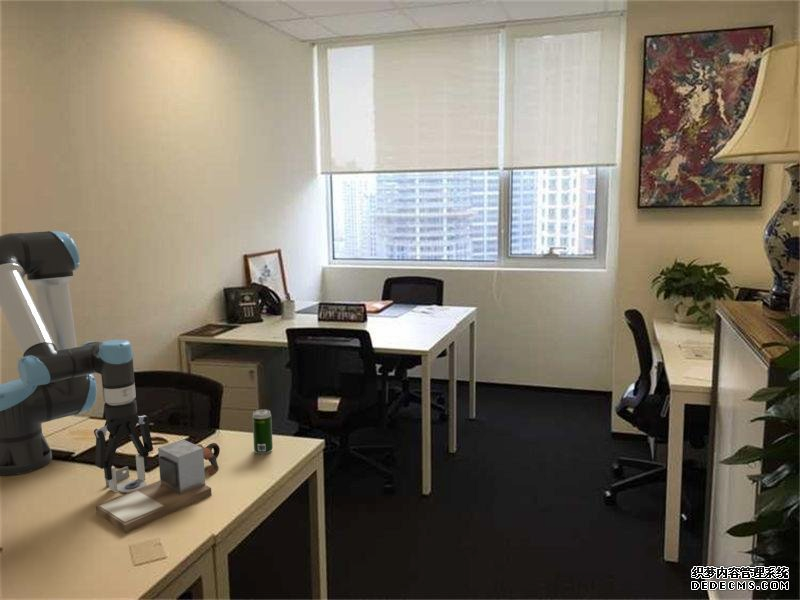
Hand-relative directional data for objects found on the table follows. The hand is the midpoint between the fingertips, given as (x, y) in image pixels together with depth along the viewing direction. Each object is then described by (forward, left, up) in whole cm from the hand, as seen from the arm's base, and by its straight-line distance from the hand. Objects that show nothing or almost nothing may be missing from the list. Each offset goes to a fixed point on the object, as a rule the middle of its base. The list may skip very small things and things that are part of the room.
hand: (127, 484), depth 162 cm
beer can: (+11, +36, 0) cm, 38 cm away
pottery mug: (+7, +18, -1) cm, 19 cm away
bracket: (0, 0, -1) cm, 1 cm away
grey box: (+15, +7, +2) cm, 16 cm away
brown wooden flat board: (+15, -1, 0) cm, 15 cm away
